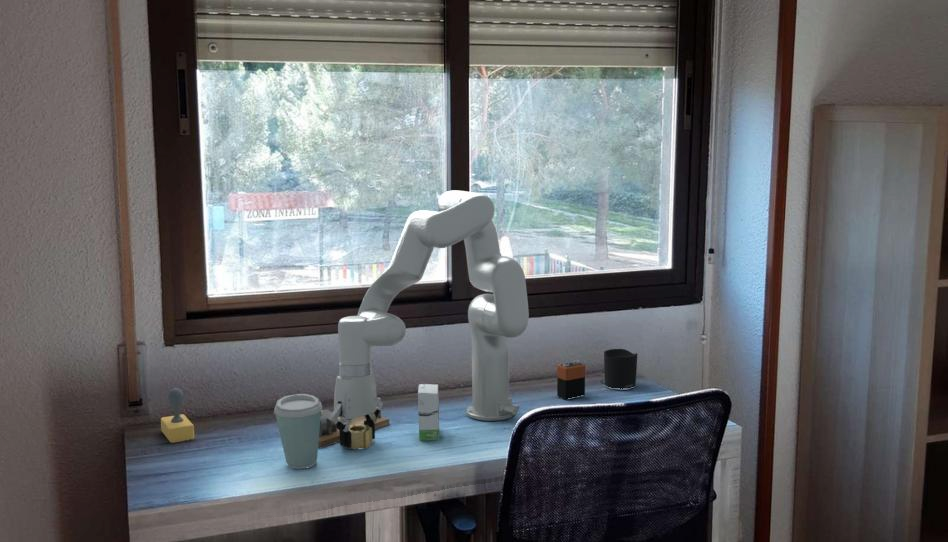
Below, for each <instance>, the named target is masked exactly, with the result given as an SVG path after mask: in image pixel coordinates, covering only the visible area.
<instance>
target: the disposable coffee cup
mask: <svg viewBox="0 0 948 542" xmlns="http://www.w3.org/2000/svg"><path fill="white" fill-rule="evenodd" d="M321 410H323V405H322V402H321V401H320V399H319V398H318V397H316V396H315V395H312V394H307V393H297V394H295V393H294V394H290V395H284V396H283V397H281V398H279V399H277V401H276V404H275V407H274V409H273V414H275V417H276V422H277V427H278V432H279V436H280V440H281V445H282V450H283V454H284V457H285V458H284V459H285V461H286V462H285V463H286V464H287V466H288V468H290V467H291V468H290V469H292V468H297V469H296V470H299V469H298V468H306V469H308V468H307V467H310V468H312V467H314V466H316V463H317V460H318V453H319V447H318V441H319V429H320V417H321ZM313 465H314V466H313Z"/></svg>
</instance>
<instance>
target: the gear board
mask: <svg viewBox="0 0 948 542" xmlns="http://www.w3.org/2000/svg"><path fill="white" fill-rule="evenodd" d="M377 398H378V399H379V400H381V399H382V398H381V397H377ZM381 401H382V400H381ZM332 412H333V411H331V410H330V409H322V410H321V417H320V429H319V441H318V448H320V447H322V448H325V447H327V446H330V444H331V445H333V444H336V442H337V443H340V432H339V430H338V429H337V427H335V426H334V425H333V423H332V422H331V421H330V420H329V417H330V415H331V414H332ZM339 419H340V417H338V420H339ZM365 420H366V419H365V417H364V416H362V417H359V418H355V419H352V420H351V423H350V425H356V424H364V421H365ZM345 422H346V420H344V425H345ZM389 425H390V418H387V417H383V416H382V409H381V410H380V413H379V415H378V416H377V421H376V422H375V430H377V429H381V428H383V427H387V426H389Z"/></svg>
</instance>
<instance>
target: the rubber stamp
mask: <svg viewBox="0 0 948 542" xmlns="http://www.w3.org/2000/svg"><path fill="white" fill-rule="evenodd" d="M167 399H168V402H169V405H170V407H171V408H172V411H173V414H174V415H171V416H170V415H169V416H163V417H161V418H160V428H161V429H160V430H161V432H162V433H163V435H164V436H165V438H166V439H167V440H168V441H169V443H172V444H175V443H178V442H179V443H180V442H186V441H191V440H194V439H195V426H194V424H193V423H192V422H191V421H190V419H189V418H188V417H187V416H186V415H185V414H182V413H181V414H180V410H181V408H182V405H183V400H184V393H183V391H182V390H181V389H180V388H178V387H174V388H171V389H170V391H169V392H168V398H167ZM190 439H191V440H190ZM185 440H186V441H185Z"/></svg>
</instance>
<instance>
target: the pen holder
mask: <svg viewBox="0 0 948 542" xmlns="http://www.w3.org/2000/svg"><path fill="white" fill-rule="evenodd" d="M603 364H604V365H603V367H604V370H603V371H604V386H605V385H606V386H608V387H611V388H620V389H621V388H622V389H623V388H631V387H634V386H635V387H636V384H637V370H638V369H637V367H638V352H636V353H632V352H631V351H629V350H627V349H624V348H611V349H607V350H604V352H603ZM606 386H605V387H606ZM635 387H634V388H635Z"/></svg>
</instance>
